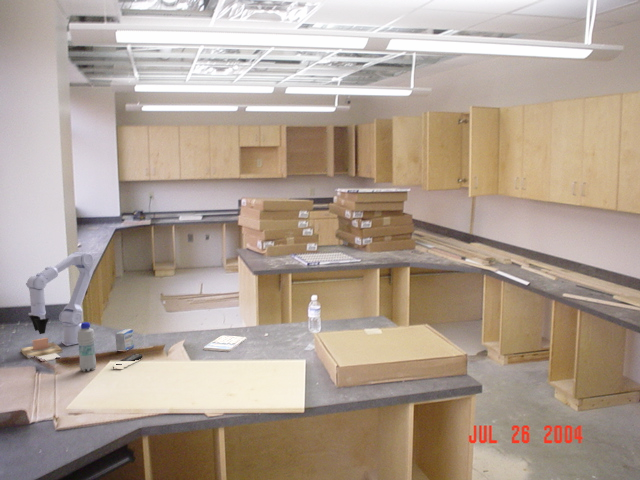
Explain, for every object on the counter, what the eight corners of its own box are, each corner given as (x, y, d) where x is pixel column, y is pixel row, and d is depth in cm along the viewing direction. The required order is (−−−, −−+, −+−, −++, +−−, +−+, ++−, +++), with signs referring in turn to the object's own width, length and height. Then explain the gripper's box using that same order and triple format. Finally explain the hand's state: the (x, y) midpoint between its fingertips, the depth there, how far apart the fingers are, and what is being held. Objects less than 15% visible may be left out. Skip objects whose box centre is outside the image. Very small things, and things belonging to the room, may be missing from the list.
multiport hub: (112, 369, 232) (112, 364, 231) (134, 358, 245) (134, 353, 245) (121, 370, 230) (121, 365, 230) (143, 359, 244) (142, 354, 244)
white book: (247, 340, 271) (247, 336, 270) (229, 352, 251) (229, 348, 251) (221, 338, 274) (221, 334, 274) (202, 350, 255) (202, 346, 255)
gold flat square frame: (53, 345, 266) (53, 341, 265) (62, 352, 255) (61, 347, 255) (20, 351, 257) (20, 347, 257) (28, 358, 246) (28, 354, 246)
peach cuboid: (47, 350, 259) (46, 337, 258) (49, 351, 257) (48, 338, 256) (33, 352, 255) (32, 340, 254) (34, 353, 253) (33, 341, 253)
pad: (55, 354, 252) (55, 352, 252) (60, 358, 246) (60, 357, 246) (36, 357, 247) (36, 356, 247) (41, 362, 241) (41, 361, 241)
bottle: (100, 367, 233) (97, 320, 230) (89, 373, 226) (85, 325, 224) (87, 366, 235) (84, 319, 233) (75, 371, 228) (72, 323, 226)
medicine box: (125, 352, 253) (124, 333, 252) (116, 351, 254) (115, 333, 253) (134, 347, 261) (133, 328, 260) (125, 346, 262) (124, 328, 261)
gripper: (24, 301, 256) (26, 330, 258) (32, 306, 245) (34, 336, 247) (40, 299, 261) (42, 327, 262) (49, 304, 250) (51, 333, 251)
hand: (39, 331), depth 255 cm, fingers open, 7 cm apart
